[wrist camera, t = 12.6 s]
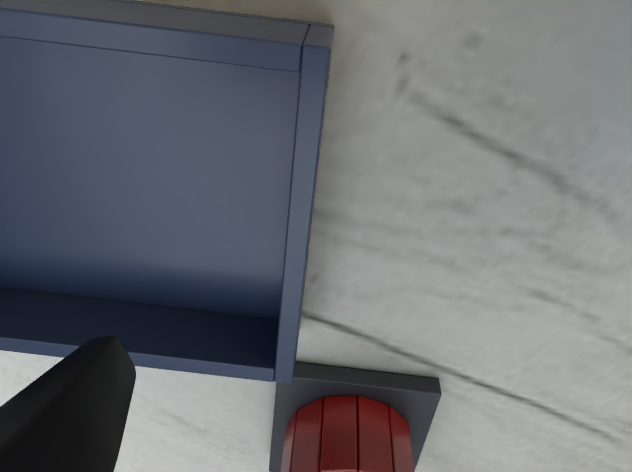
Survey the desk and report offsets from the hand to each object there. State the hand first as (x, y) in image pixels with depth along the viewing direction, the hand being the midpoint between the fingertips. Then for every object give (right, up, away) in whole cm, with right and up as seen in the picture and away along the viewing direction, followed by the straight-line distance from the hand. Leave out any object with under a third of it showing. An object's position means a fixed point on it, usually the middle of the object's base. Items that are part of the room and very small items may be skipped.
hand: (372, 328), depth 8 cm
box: (-9, +4, +12) cm, 15 cm away
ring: (+1, -9, +18) cm, 20 cm away
